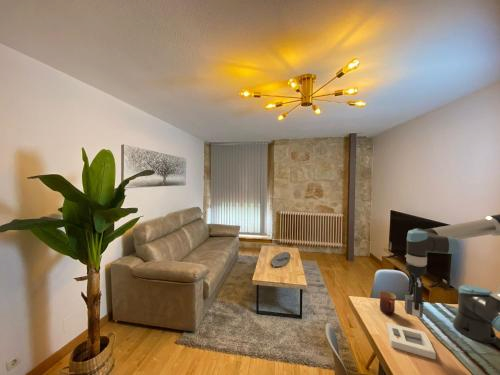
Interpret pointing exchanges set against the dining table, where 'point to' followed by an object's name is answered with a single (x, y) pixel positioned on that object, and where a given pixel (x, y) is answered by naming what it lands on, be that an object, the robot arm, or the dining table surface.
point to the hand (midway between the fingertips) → (414, 312)
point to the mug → (387, 302)
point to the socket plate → (410, 340)
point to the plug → (409, 305)
